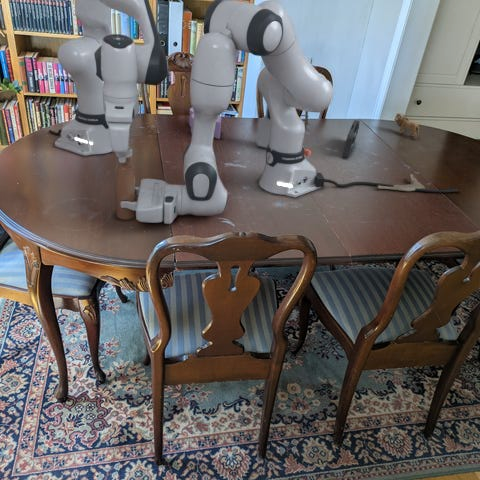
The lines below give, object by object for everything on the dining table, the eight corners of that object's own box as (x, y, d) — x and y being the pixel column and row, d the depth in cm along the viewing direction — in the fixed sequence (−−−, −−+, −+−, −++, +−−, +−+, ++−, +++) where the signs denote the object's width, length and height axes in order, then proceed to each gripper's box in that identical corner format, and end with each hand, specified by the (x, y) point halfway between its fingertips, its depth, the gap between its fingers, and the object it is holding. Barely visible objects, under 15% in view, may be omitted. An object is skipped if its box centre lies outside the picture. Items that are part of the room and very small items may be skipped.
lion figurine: (389, 131, 222) (394, 113, 217) (394, 129, 226) (399, 111, 221) (418, 140, 215) (424, 121, 210) (423, 138, 218) (429, 119, 214)
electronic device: (288, 147, 193) (299, 72, 177) (283, 153, 187) (295, 76, 171) (259, 141, 196) (268, 67, 179) (254, 147, 190) (262, 71, 173)
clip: (182, 123, 206) (183, 107, 202) (209, 122, 210) (210, 106, 207) (197, 140, 191) (197, 123, 187) (225, 138, 195) (226, 122, 191)
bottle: (115, 210, 137) (112, 147, 127) (133, 209, 139) (132, 146, 129) (117, 220, 133) (115, 155, 123) (136, 218, 135) (136, 154, 124)
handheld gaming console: (349, 160, 187) (354, 136, 182) (342, 158, 188) (347, 134, 183) (355, 142, 206) (361, 119, 201) (349, 140, 207) (354, 118, 201)
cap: (113, 153, 126) (112, 146, 125) (127, 150, 129) (127, 143, 128) (121, 159, 124) (121, 152, 123) (135, 156, 126) (135, 149, 125)
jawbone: (429, 189, 172) (431, 184, 171) (394, 201, 161) (396, 196, 160) (410, 177, 177) (412, 172, 176) (375, 189, 167) (376, 184, 165)
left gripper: (112, 92, 127) (114, 140, 134) (104, 117, 110) (107, 171, 117) (135, 93, 128) (137, 141, 135) (131, 118, 111) (133, 171, 118)
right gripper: (172, 174, 142) (125, 172, 140) (170, 207, 125) (117, 205, 123) (171, 192, 145) (126, 191, 143) (170, 227, 128) (118, 225, 126)
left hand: (123, 155), depth 126 cm, fingers open, 7 cm apart
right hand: (122, 198), depth 133 cm, fingers closed on bottle, 5 cm apart
